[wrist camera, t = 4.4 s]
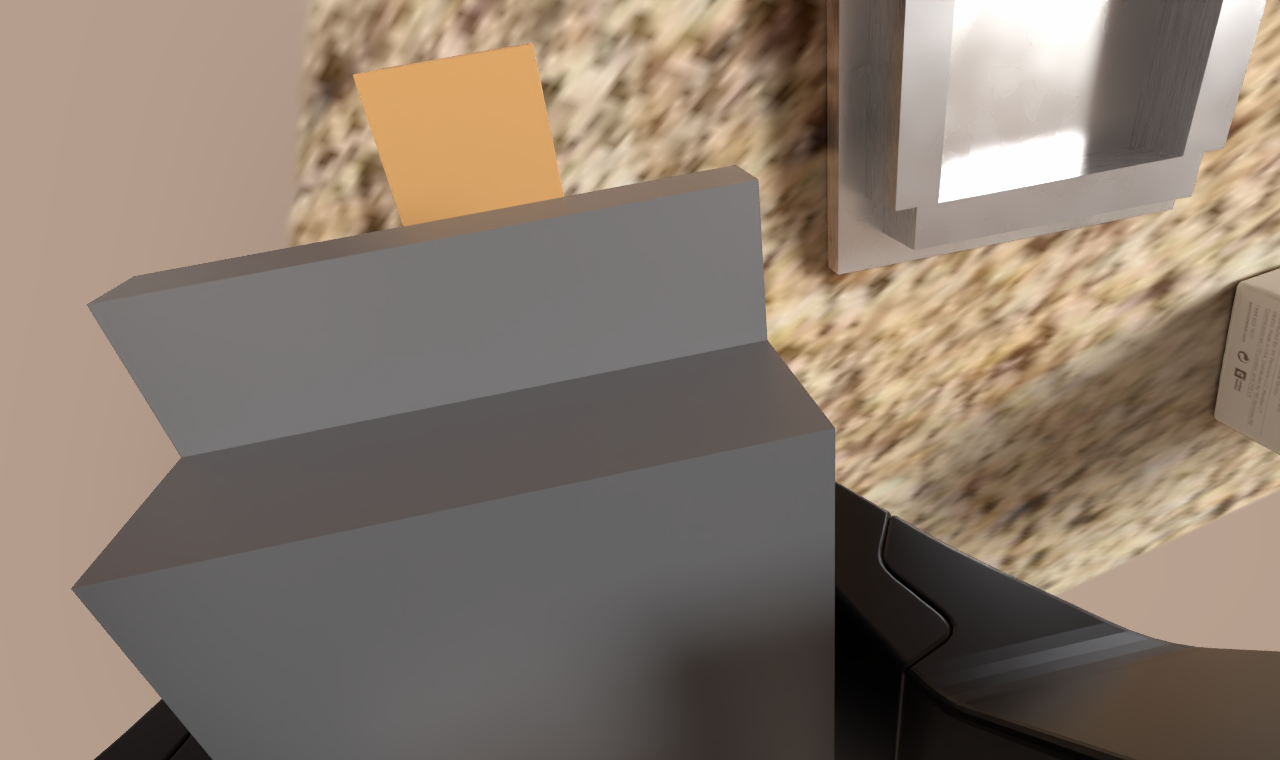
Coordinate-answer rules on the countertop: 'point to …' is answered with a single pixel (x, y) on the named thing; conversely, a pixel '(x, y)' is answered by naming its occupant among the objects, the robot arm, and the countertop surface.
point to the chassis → (1019, 116)
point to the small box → (1253, 363)
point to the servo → (481, 467)
